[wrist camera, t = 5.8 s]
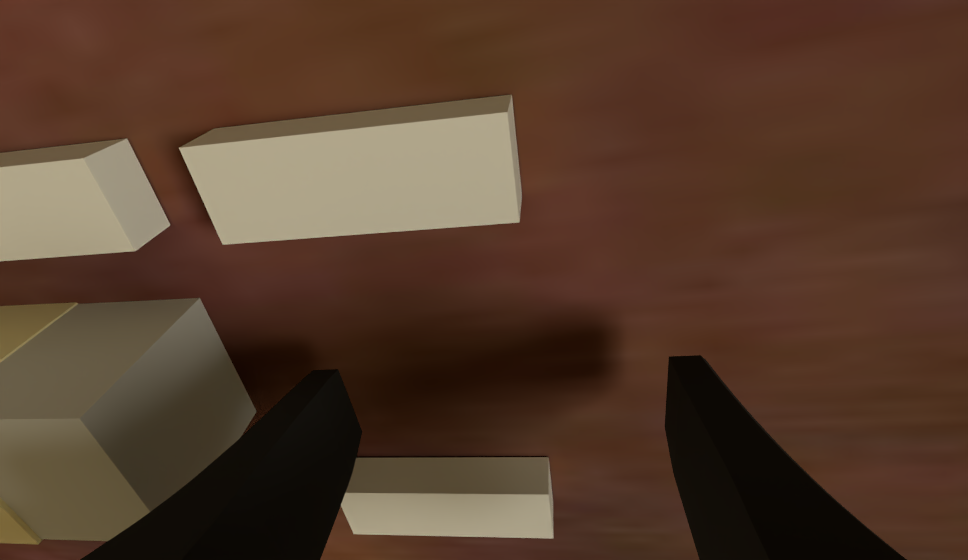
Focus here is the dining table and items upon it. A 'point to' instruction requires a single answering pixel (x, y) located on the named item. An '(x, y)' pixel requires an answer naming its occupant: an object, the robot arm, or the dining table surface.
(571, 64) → the dining table surface
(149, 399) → the banded cream box
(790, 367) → the dining table surface
